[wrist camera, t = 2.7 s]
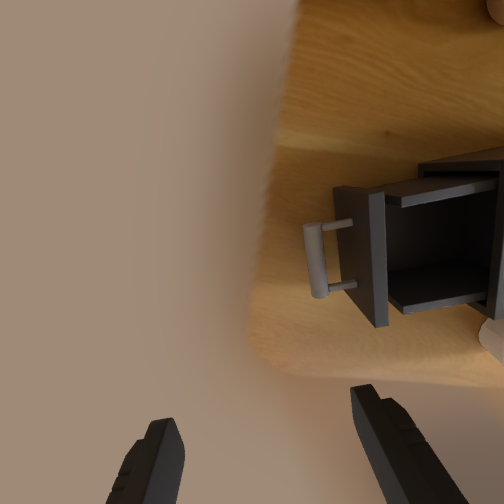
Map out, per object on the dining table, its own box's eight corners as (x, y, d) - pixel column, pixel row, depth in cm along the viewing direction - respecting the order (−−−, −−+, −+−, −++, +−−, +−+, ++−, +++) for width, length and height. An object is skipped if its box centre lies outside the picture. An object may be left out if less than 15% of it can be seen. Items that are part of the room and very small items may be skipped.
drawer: (304, 295, 29) (325, 337, 22) (290, 196, 26) (308, 206, 18) (461, 266, 29) (536, 299, 21) (467, 160, 25) (560, 155, 18)
